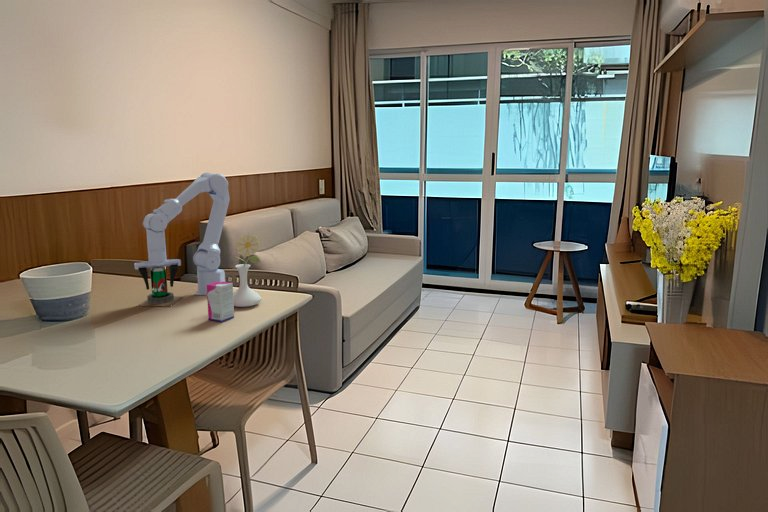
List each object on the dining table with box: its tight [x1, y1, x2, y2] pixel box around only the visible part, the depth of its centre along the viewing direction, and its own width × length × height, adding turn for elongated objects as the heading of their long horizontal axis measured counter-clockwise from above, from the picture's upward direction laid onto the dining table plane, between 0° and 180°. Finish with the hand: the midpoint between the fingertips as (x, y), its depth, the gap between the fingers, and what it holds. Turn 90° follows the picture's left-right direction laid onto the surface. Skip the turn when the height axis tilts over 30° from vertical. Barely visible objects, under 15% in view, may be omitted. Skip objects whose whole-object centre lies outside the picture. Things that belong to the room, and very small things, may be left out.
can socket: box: [137, 291, 184, 308], centre depth 183 cm, size 11×11×2 cm
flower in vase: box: [233, 233, 262, 308], centre depth 178 cm, size 13×11×25 cm
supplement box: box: [206, 281, 235, 323], centre depth 165 cm, size 6×6×12 cm
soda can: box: [149, 266, 169, 298], centre depth 182 cm, size 5×5×12 cm
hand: (159, 287), depth 182 cm, fingers open, 7 cm apart
